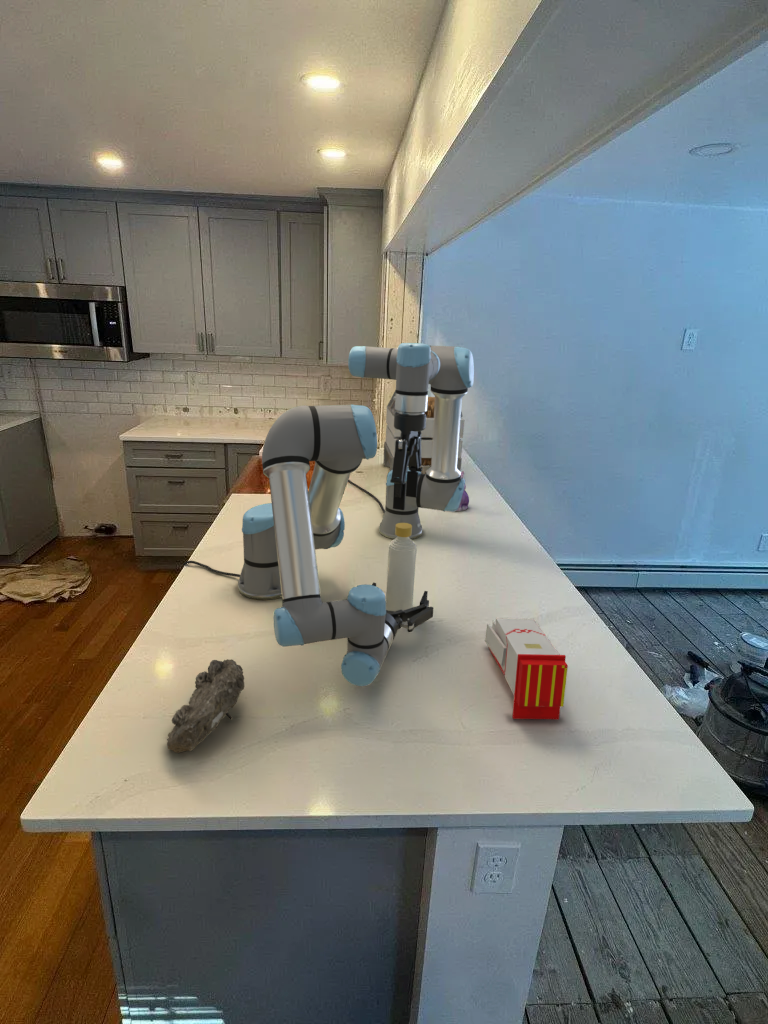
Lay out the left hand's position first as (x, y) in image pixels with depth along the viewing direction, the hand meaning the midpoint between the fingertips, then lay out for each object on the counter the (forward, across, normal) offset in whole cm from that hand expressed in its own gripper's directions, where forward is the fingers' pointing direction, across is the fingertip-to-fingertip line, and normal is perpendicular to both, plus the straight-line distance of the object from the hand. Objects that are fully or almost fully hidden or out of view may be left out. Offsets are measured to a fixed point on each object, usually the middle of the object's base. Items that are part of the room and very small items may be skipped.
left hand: (399, 591), depth 146 cm
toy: (-18, +31, -6) cm, 37 cm away
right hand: (+2, 0, +24) cm, 24 cm away
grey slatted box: (+134, -22, -6) cm, 136 cm away
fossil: (-50, -24, -6) cm, 56 cm away
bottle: (+2, 0, -6) cm, 7 cm away
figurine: (+89, +3, -6) cm, 89 cm away
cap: (+2, 0, +17) cm, 17 cm away
